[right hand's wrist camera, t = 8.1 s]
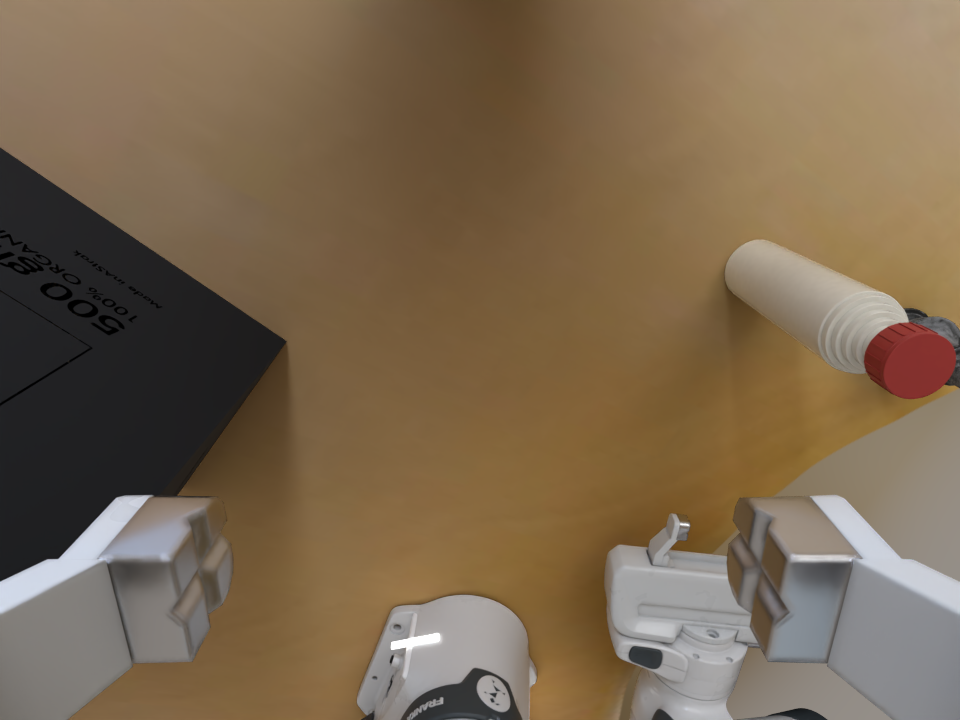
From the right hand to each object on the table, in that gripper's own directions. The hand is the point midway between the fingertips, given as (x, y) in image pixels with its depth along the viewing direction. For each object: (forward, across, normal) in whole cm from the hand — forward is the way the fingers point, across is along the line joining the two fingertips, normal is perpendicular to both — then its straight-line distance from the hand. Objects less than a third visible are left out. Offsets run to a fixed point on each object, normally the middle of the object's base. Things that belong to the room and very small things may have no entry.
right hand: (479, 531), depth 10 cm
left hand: (+40, -23, +29) cm, 54 cm away
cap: (+25, -25, +7) cm, 36 cm away
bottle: (+48, -25, +7) cm, 54 cm away
